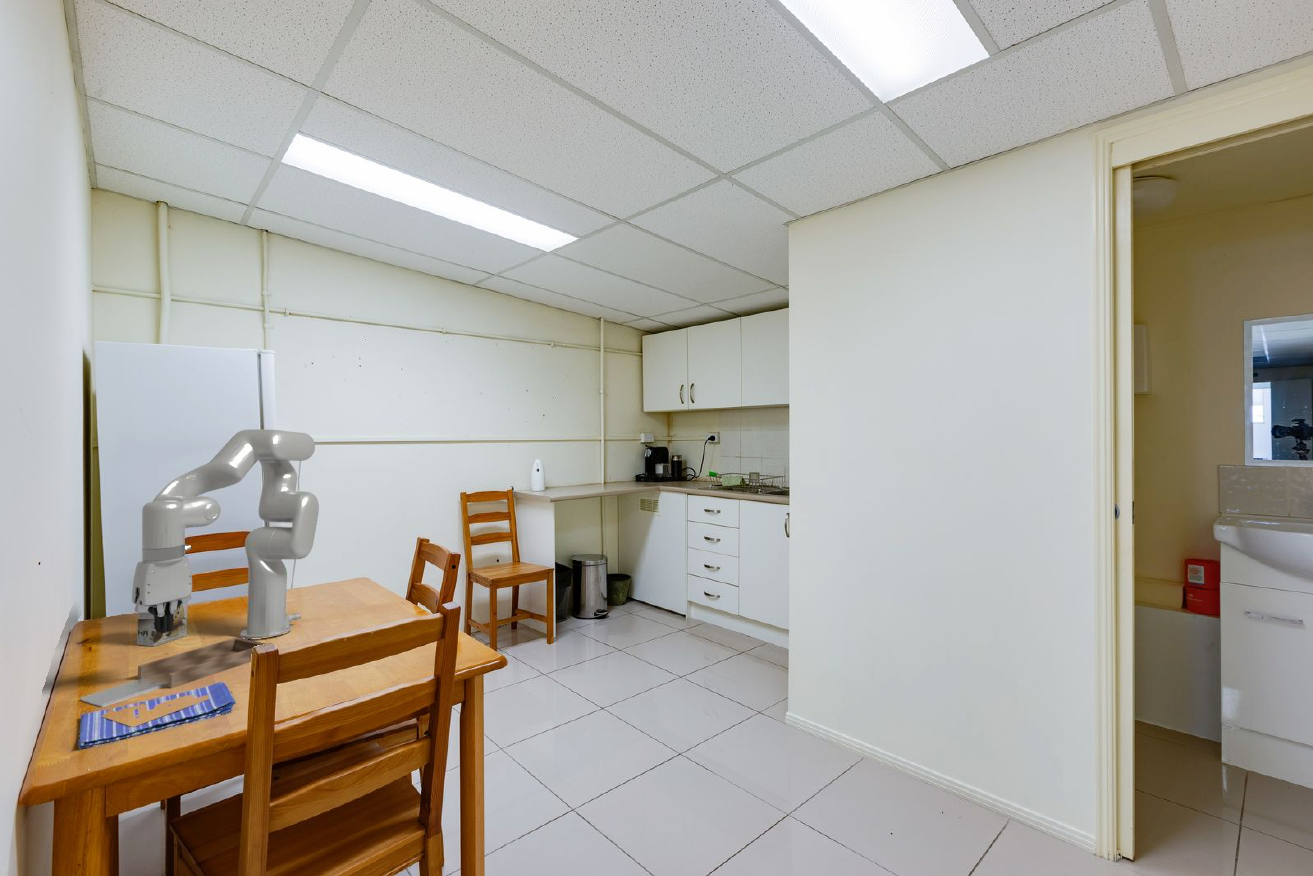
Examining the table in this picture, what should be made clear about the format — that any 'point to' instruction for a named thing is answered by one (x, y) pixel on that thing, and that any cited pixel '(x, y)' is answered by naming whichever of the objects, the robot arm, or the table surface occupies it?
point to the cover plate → (121, 692)
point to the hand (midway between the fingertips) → (163, 631)
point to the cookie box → (154, 638)
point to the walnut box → (198, 662)
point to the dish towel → (106, 730)
